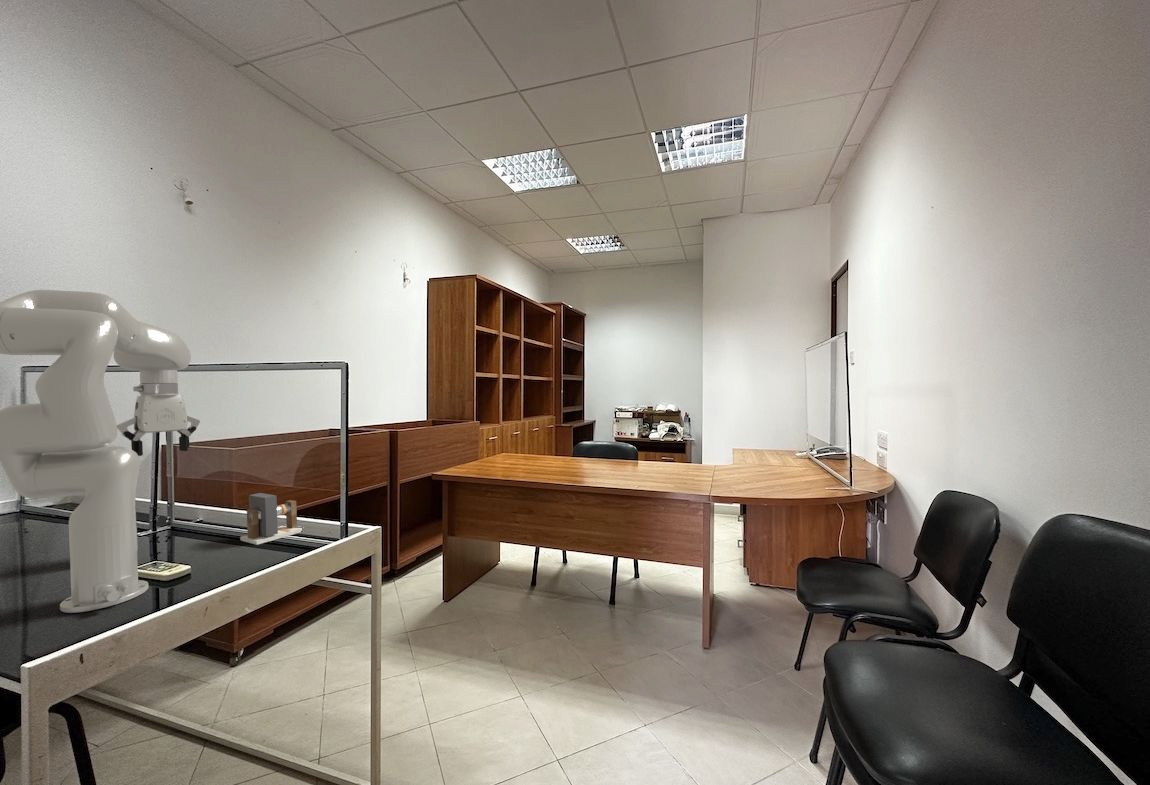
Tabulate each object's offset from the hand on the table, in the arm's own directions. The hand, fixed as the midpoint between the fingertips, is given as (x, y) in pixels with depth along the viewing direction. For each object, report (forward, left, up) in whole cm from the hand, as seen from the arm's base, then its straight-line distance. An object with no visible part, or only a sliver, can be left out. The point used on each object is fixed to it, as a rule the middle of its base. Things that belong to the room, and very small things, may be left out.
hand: (161, 453), depth 121 cm
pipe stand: (-15, -20, -27) cm, 36 cm away
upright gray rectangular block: (-15, -17, -25) cm, 34 cm away
